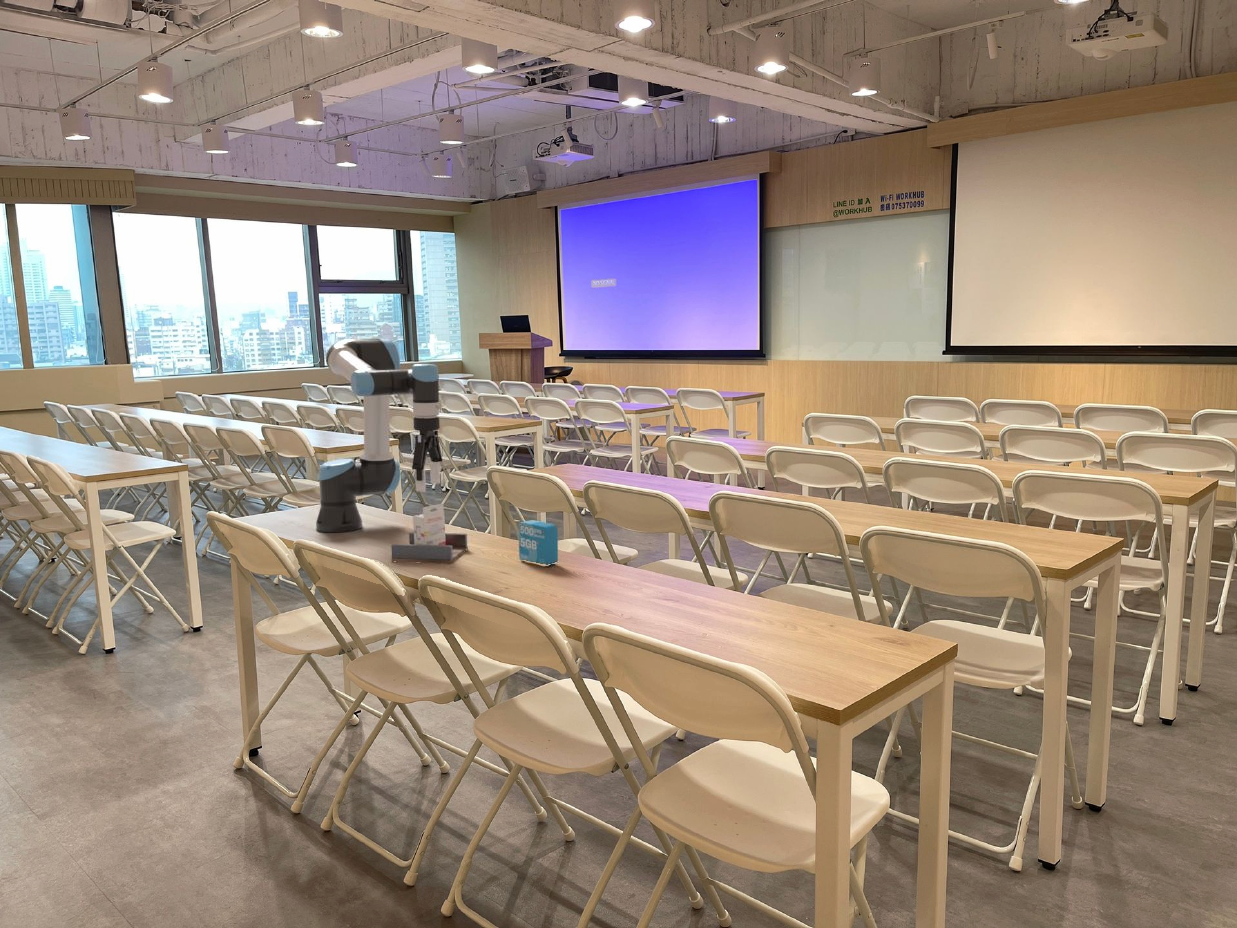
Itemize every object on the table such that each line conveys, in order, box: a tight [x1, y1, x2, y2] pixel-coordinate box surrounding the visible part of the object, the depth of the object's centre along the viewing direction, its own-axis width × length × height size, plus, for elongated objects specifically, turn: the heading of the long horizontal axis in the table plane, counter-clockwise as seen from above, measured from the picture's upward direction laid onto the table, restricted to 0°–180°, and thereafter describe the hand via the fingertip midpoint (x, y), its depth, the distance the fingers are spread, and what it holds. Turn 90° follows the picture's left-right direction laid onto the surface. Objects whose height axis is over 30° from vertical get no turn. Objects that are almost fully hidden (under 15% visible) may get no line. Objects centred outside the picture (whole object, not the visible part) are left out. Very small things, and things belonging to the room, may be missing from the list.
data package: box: [518, 519, 559, 565], centre depth 261 cm, size 12×4×12 cm, turn 49°
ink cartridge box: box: [412, 503, 446, 545], centre depth 269 cm, size 9×5×15 cm, turn 144°
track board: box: [390, 531, 469, 565], centre depth 270 cm, size 18×18×5 cm
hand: (428, 487), depth 267 cm, fingers open, 13 cm apart
